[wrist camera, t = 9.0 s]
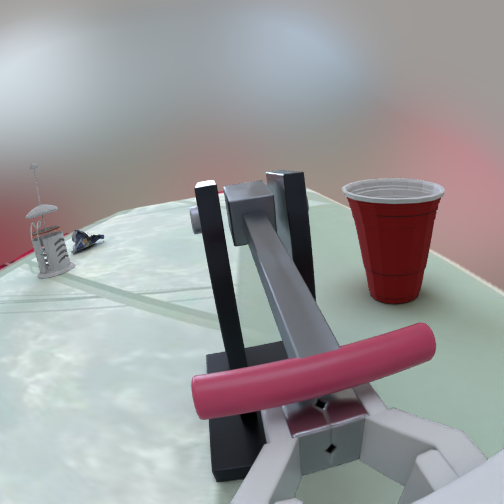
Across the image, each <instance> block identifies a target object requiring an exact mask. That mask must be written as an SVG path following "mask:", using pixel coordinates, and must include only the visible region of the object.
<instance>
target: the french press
mask: <svg viewBox="0 0 504 504" xmlns="http://www.w3.org/2000/svg"><path fill="white" fill-rule="evenodd" d="M37 167H38V165H37V164H36V163H33V164H31V166H30V169H34V173H35V168H37ZM35 179H36V174H35ZM36 186H37V180H36ZM37 190H38V187H37ZM37 192H38V191H37ZM38 197H39V192H38ZM39 203H40V198H39ZM57 209H58V207H56V206H53V205H42V204H41V203H40V205H39V206H38V207H36V208H35V209H33V210H31V211H30V212H29V213H28V215H27V216H26V218H27V219H29V218H33V217H36V216H40V215H42V218H43V214H46V213H49V212H52V211H55V210H57ZM39 222H40V221H38V223H39ZM43 222H44V218H43ZM38 223H37V227H35V224H34V222H32V224H34V227H35V228H37V231H36V232H34V233H32V224H31V239H32V235H33V236H37V237H38V238H36V239H34V240H33V239H32V243H33V246H34V250H35V253H36V258H37V261H38V265H39V268H40V273H39V275H38V278H49V277H53V276H57V275H59V274H62V273H65V272H67V271H69V270H71V269H72V268H73V267H74V266H75V264H73V263H71V262H70V260H69V258H68V253H67V249H66V247H65V246H66V245H65V242H64V236H63V232H55V233H51V234H48V235H44V236H41V237H39V236H38V235H41V234H45V233H49V232H51V231H54V230H56V229H58V228H59V227H60V226H59V225H57V226H54V227H50V228H46V227H45V223H44V227H45V228H44V229H43V230H39V231H38V228H39V227H40V226H41V222H40V226H38ZM61 240H62V241H61ZM42 246H44V249H42ZM62 246H63V247H62ZM64 251H65V252H64ZM43 252H44V253H46V254H43ZM46 256H47V259H44V257H46ZM65 256H66V258H65ZM45 262H48V263H49V264H46V263H45Z"/></svg>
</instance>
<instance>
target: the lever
mask: <svg viewBox="0 0 504 504" xmlns="http://www.w3.org/2000/svg"><path fill="white" fill-rule="evenodd" d="M224 195H225V202H226V209H227V216H228V222H229V227H230V231H231V235H232V239H233V243H234V246H241V245H247V244H248V245H249V248H250V250H251V253H252V256H253V259H254V262H255V265H256V267H257V270H258V273H259V276H260V279H261V282H262V284H263V287H264V290H265V293H266V296H267V299H268V301H269V304H270V307H271V310H272V313H273V315H274V318H275V321H276V324H277V327H278V330H279V332H280V335H281V338H282V341H283V344H284V347H285V349H286V352H287V355H288V358H289V359H285V360H281V361H276V362H271V363H266V364H261V365H256V366H251V367H245V368H240V369H234V370H229V371H223V372H217V373H210V374H204V375H197V376H194V377H193V378H192V383H191V387H192V396H193V401H194V406H195V409H196V412H197V414H198V416H199V418H200V419H203V420H205V419H213V418H219V417H226V416H232V415H238V414H244V413H249V412H255V411H260V410H265V409H270V408H275V407H279V406H284V405H288V404H293V403H297V402H301V401H305V400H309V399H313V398H317V397H321V396H325V395H328V394H332V393H336V392H339V391H343V390H346V389H349V388H353V387H356V386H359V385H362V384H366V383H369V382H372V381H375V380H378V379H381V378H384V377H387V376H390V375H392V374H395V373H398V372H401V371H403V370H406V369H409V368H411V367H414V366H417V365H419V364H422V363H424V362H427V361H429V360H431V359H432V358H433V356H434V354H435V350H436V342H435V337H434V334H433V332H432V330H431V329H430V327H429V326H428V325H427V324H425V323H417V324H414V325H411V326H408V327H405V328H402V329H398V330H395V331H392V332H389V333H385V334H382V335H379V336H375V337H372V338H369V339H365V340H362V341H358V342H354V343H351V344H347V345H343V346H339V344H338V342H337V340H336V338H335V336H334V335H333V333H332V331H331V329H330V327H329V325H328V323H327V322H326V320H325V318H324V316H323V314H322V312H321V311H320V309H319V307H318V305H317V303H316V302H315V300H314V298H313V296H312V294H311V292H310V291H309V289H308V287H307V285H306V283H305V282H304V280H303V278H302V276H301V275H300V273H299V271H298V269H297V267H296V266H295V264H294V262H293V260H292V259H291V257H290V255H289V253H288V251H287V250H286V248H285V246H284V244H283V243H282V241H281V239H280V237H279V236H278V234H277V224H276V212H275V201H274V195H273V193H272V192H271V191H270V189H269V188H268V187H267V185H266V184H265V183H264V182H263V181H262V180H259V181H253V182H246V183H239V184H233V185H227V186H224Z"/></svg>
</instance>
